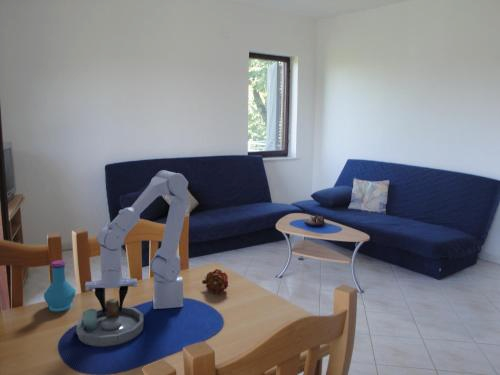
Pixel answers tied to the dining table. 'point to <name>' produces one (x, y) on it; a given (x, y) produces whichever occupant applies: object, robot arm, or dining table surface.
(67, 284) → the perfume bottle
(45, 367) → the dining table surface
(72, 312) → the dining table surface
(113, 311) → the bead walnut
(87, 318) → the bead teal
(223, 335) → the dining table surface
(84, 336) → the tray
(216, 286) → the brown pine cone
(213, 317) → the dining table surface
